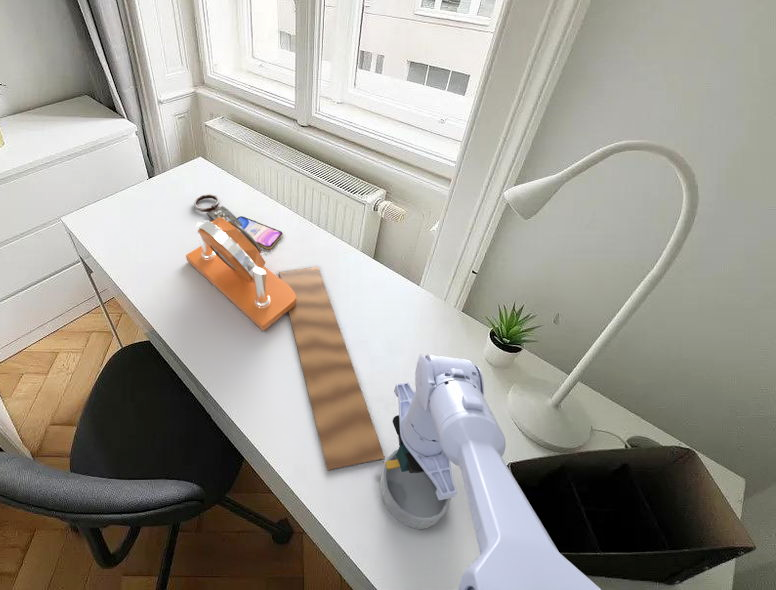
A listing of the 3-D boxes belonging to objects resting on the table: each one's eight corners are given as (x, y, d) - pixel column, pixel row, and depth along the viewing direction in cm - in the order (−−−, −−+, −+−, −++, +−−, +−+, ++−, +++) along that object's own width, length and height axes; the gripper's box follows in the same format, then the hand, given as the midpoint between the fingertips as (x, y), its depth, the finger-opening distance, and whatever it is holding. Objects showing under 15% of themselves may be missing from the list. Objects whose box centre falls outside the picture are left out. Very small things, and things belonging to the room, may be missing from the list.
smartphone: (269, 251, 108) (269, 248, 107) (224, 232, 114) (224, 229, 114) (284, 234, 113) (284, 231, 112) (240, 217, 119) (240, 214, 119)
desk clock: (261, 333, 88) (254, 271, 75) (185, 262, 106) (169, 202, 93) (301, 301, 94) (300, 238, 82) (223, 239, 112) (212, 179, 99)
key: (417, 450, 63) (422, 439, 61) (424, 467, 61) (430, 457, 59) (383, 457, 62) (387, 447, 60) (389, 475, 61) (393, 464, 58)
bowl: (458, 512, 63) (465, 504, 60) (402, 540, 60) (407, 533, 58) (419, 447, 70) (424, 437, 68) (368, 470, 68) (371, 461, 65)
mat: (384, 458, 69) (384, 457, 69) (327, 470, 68) (327, 469, 68) (317, 267, 103) (317, 266, 103) (279, 273, 102) (279, 272, 102)
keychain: (221, 237, 113) (220, 231, 111) (190, 204, 125) (189, 199, 124) (244, 225, 116) (244, 220, 115) (212, 194, 128) (211, 189, 127)
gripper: (491, 474, 48) (460, 510, 56) (433, 362, 59) (415, 406, 67) (434, 486, 47) (412, 520, 55) (387, 371, 58) (374, 414, 67)
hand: (411, 459), depth 61 cm, fingers closed on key, 2 cm apart
